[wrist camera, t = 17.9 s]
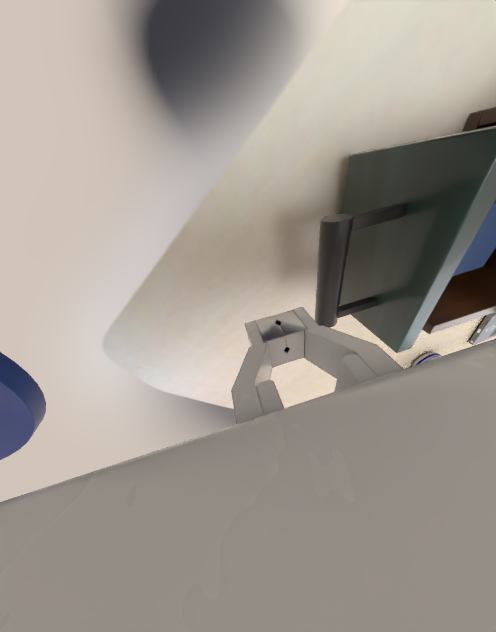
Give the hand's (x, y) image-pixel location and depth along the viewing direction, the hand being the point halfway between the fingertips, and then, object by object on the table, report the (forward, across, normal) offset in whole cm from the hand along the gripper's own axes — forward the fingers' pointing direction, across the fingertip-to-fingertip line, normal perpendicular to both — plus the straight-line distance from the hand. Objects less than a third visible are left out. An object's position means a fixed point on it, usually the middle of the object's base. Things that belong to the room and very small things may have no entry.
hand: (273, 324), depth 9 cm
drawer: (+7, -13, 0) cm, 15 cm away
